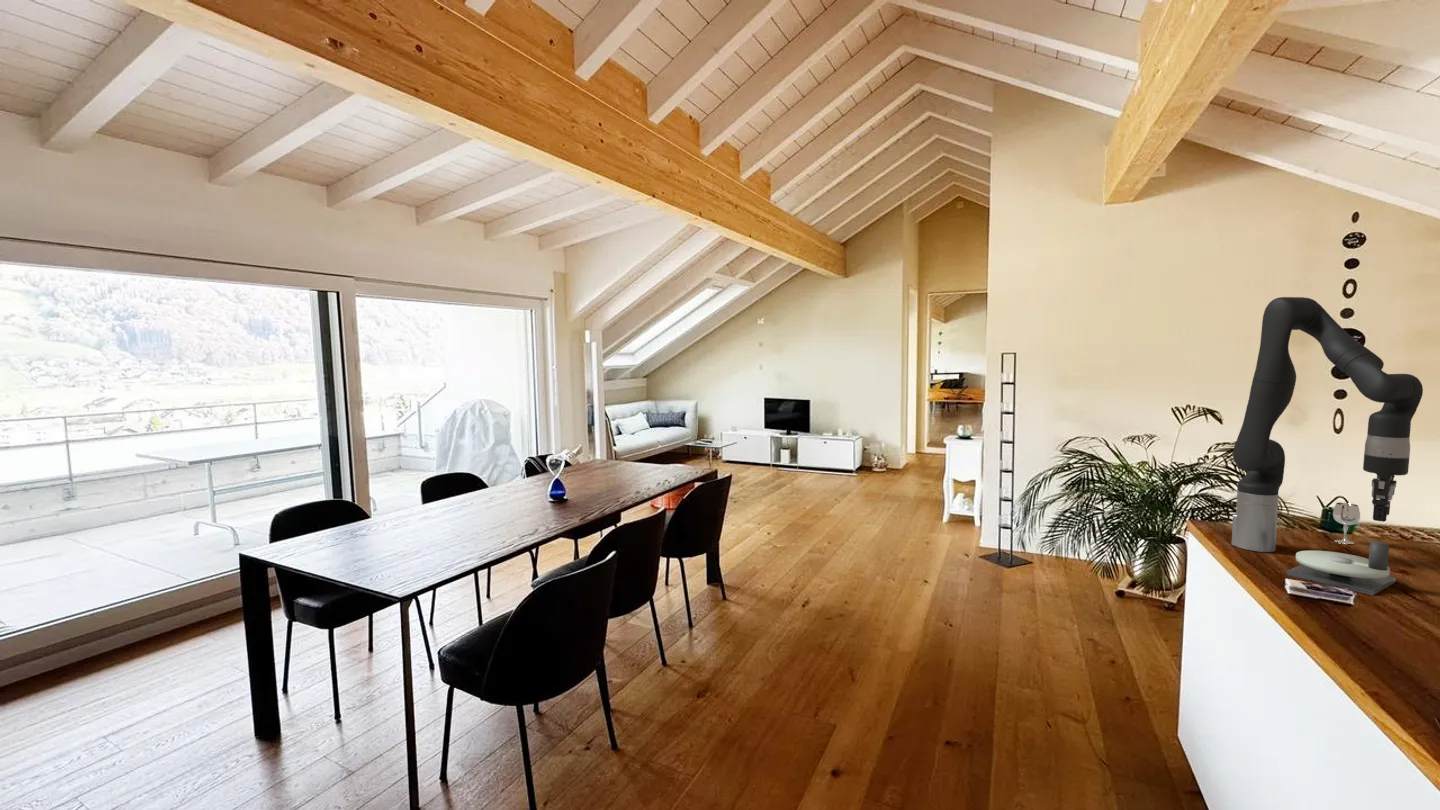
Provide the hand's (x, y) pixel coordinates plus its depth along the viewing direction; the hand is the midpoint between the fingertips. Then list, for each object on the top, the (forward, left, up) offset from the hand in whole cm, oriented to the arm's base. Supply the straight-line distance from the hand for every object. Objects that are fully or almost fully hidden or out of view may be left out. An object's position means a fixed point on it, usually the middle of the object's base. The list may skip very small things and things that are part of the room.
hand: (1381, 517), depth 149 cm
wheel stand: (-6, -1, -18) cm, 19 cm away
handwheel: (-6, -1, -14) cm, 16 cm away
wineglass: (-16, +39, -18) cm, 46 cm away
